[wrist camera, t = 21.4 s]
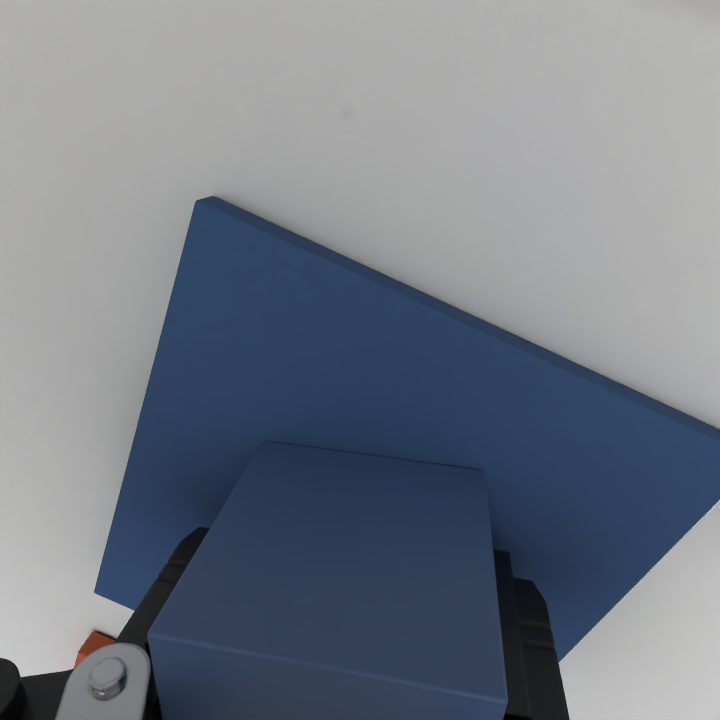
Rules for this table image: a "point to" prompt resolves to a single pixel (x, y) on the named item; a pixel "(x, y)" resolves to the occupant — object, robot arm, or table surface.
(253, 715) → the blue block
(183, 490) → the blue mat
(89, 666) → the robot arm
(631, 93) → the table surface
